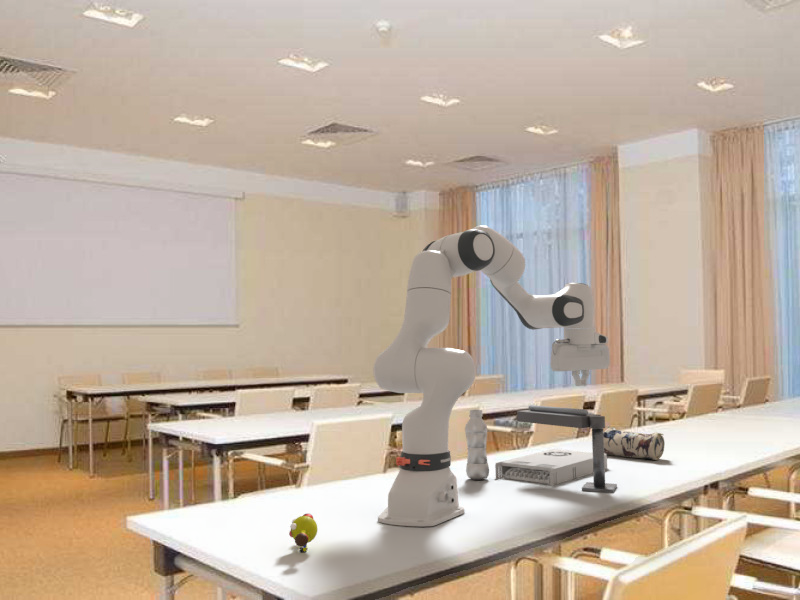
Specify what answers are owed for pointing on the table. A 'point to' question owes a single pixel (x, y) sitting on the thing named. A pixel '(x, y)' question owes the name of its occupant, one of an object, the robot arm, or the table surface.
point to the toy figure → (303, 530)
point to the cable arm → (561, 417)
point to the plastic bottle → (476, 446)
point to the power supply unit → (547, 466)
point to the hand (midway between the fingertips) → (581, 385)
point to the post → (598, 465)
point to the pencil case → (633, 444)
